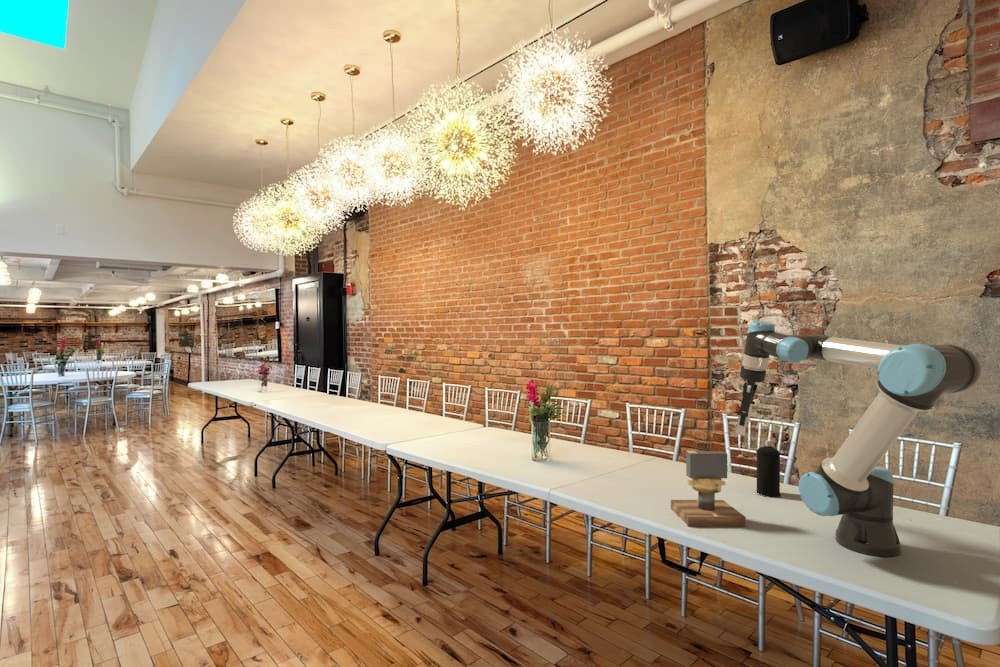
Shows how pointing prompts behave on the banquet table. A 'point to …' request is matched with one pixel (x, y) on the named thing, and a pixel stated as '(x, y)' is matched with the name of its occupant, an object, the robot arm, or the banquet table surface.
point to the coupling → (706, 470)
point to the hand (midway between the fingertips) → (742, 427)
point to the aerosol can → (768, 470)
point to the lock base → (707, 511)
